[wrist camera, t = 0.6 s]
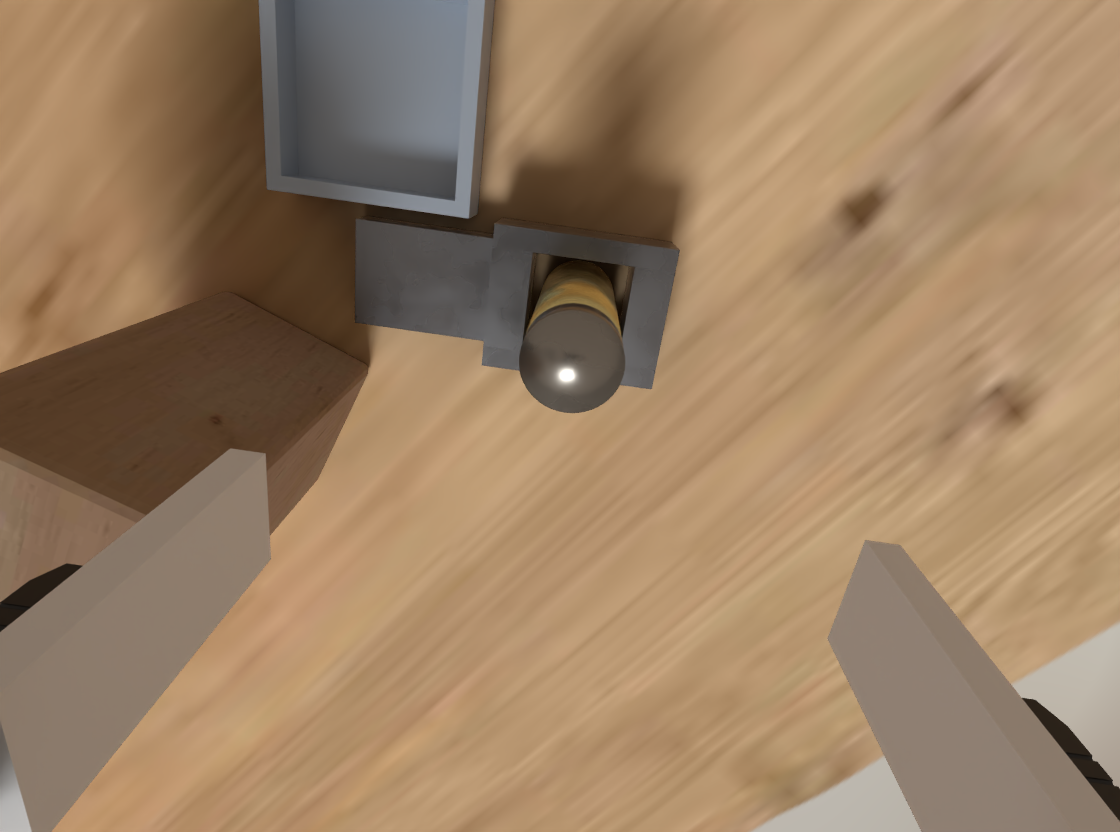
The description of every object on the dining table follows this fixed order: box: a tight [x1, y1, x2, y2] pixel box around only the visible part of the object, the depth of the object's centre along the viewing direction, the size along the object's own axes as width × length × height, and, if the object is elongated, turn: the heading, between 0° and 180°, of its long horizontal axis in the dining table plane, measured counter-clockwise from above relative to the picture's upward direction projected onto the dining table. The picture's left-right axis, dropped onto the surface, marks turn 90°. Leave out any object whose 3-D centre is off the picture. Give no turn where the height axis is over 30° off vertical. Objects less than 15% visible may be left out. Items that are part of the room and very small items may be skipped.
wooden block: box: [0, 292, 368, 602], centre depth 32 cm, size 10×10×20 cm
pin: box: [519, 260, 625, 413], centre depth 32 cm, size 4×4×14 cm
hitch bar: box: [355, 216, 680, 389], centre depth 37 cm, size 18×8×4 cm, turn 82°
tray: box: [259, 0, 495, 218], centre depth 33 cm, size 11×11×3 cm
